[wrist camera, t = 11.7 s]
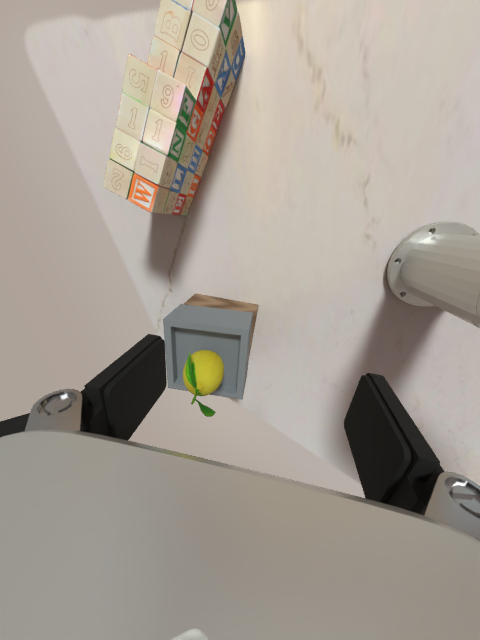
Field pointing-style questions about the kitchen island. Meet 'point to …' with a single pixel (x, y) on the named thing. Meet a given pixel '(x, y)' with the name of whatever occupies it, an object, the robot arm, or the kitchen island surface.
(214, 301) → the tower base block
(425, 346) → the kitchen island surface
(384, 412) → the robot arm
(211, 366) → the lemon
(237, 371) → the tower top block
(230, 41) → the stack of blocks
